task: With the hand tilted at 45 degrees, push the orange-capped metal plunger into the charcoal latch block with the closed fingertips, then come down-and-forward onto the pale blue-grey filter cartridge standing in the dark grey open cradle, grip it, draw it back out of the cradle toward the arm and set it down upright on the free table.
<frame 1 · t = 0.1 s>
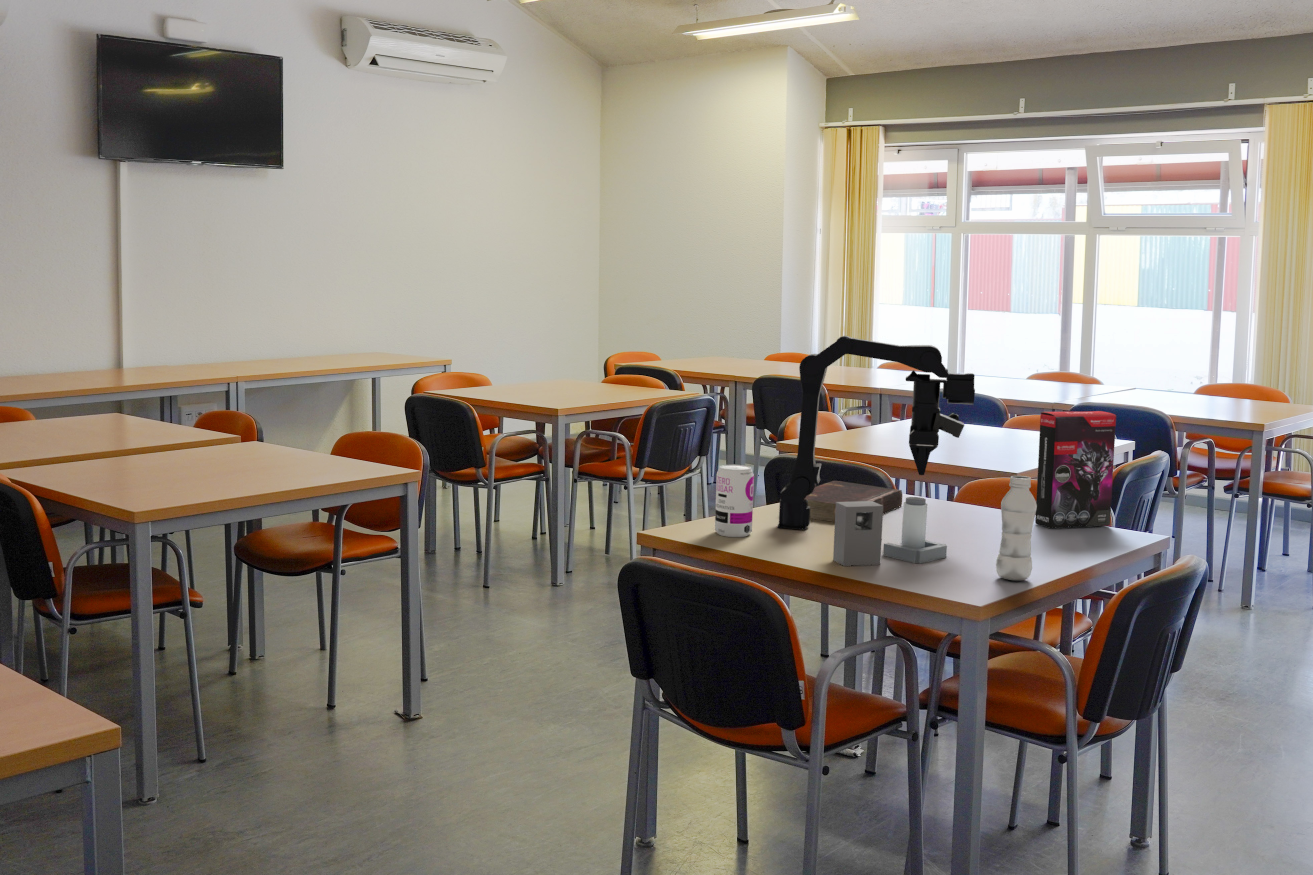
hand: (921, 471, 254), 15 cm above the table, tool pointing down, fingers open, 9 cm apart
plastic bottle: (1013, 580, 219), on the table
plunger: (851, 515, 231), point 9 cm above the table, slide at 0.0 cm
latch block: (856, 562, 229), on the table
hardback book: (844, 512, 283), on the table
cartridge: (914, 527, 236), in the cradle
cradle: (912, 555, 237), on the table
supplement can: (733, 534, 253), on the table
graphics card box: (1070, 526, 271), on the table
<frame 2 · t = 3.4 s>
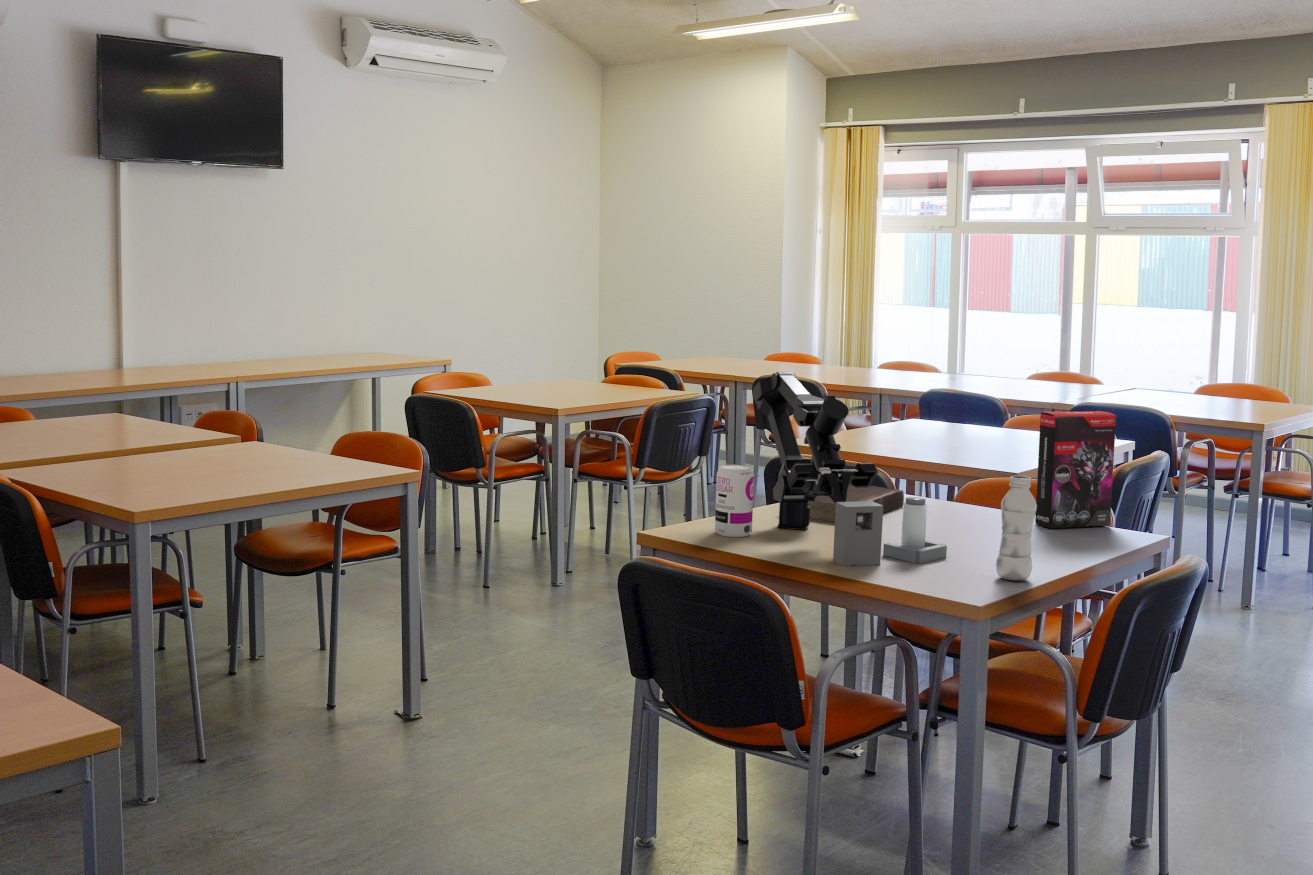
hand: (842, 508, 235), 9 cm above the table, tool tilted 45°, fingers closed, pressing on plunger
plunger: (852, 515, 231), point 9 cm above the table, slide at 0.3 cm, touching gripper
everything else where it was.
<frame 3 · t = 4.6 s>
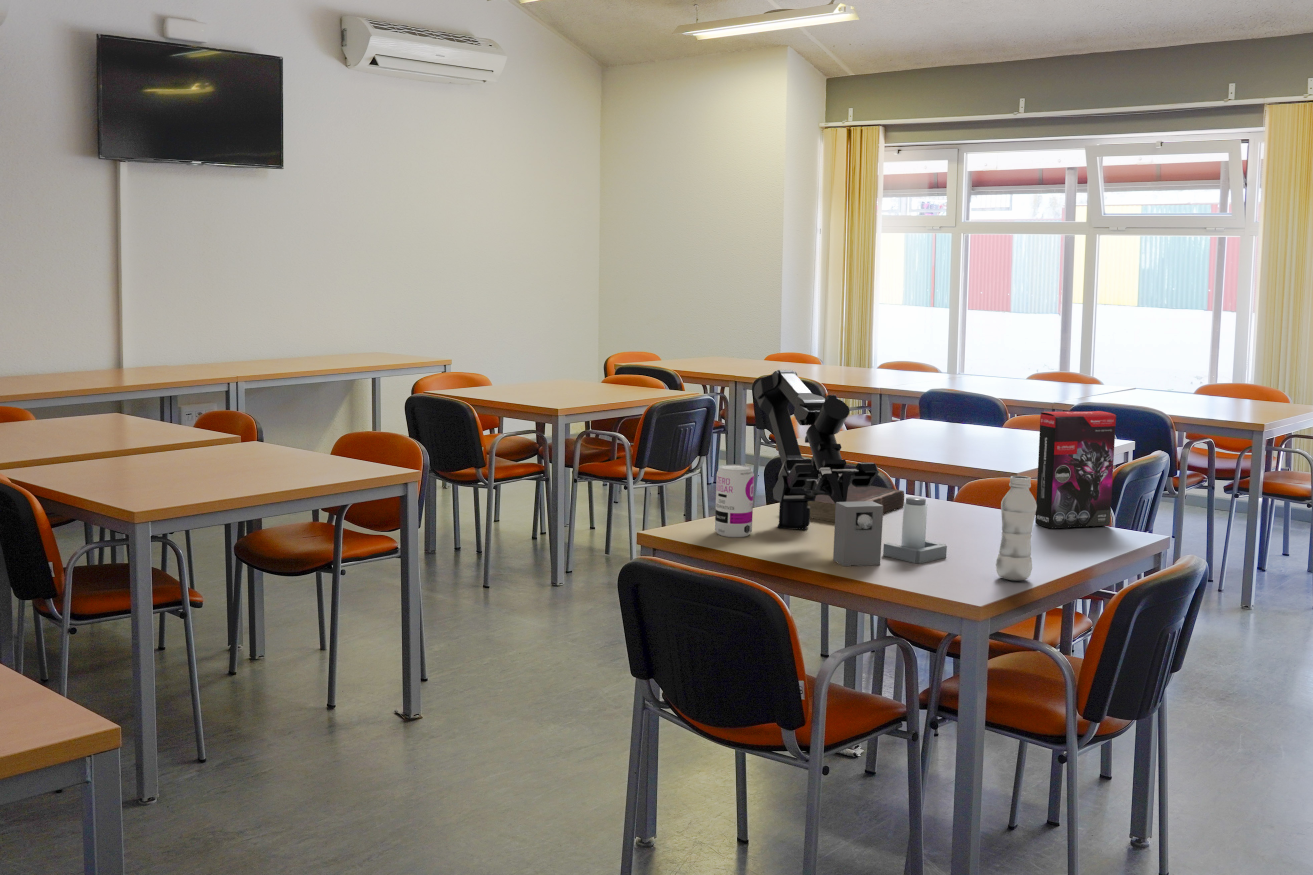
hand: (843, 509, 235), 9 cm above the table, tool tilted 45°, fingers closed
plunger: (857, 517, 229), point 9 cm above the table, slide at 2.5 cm
everything else where it was.
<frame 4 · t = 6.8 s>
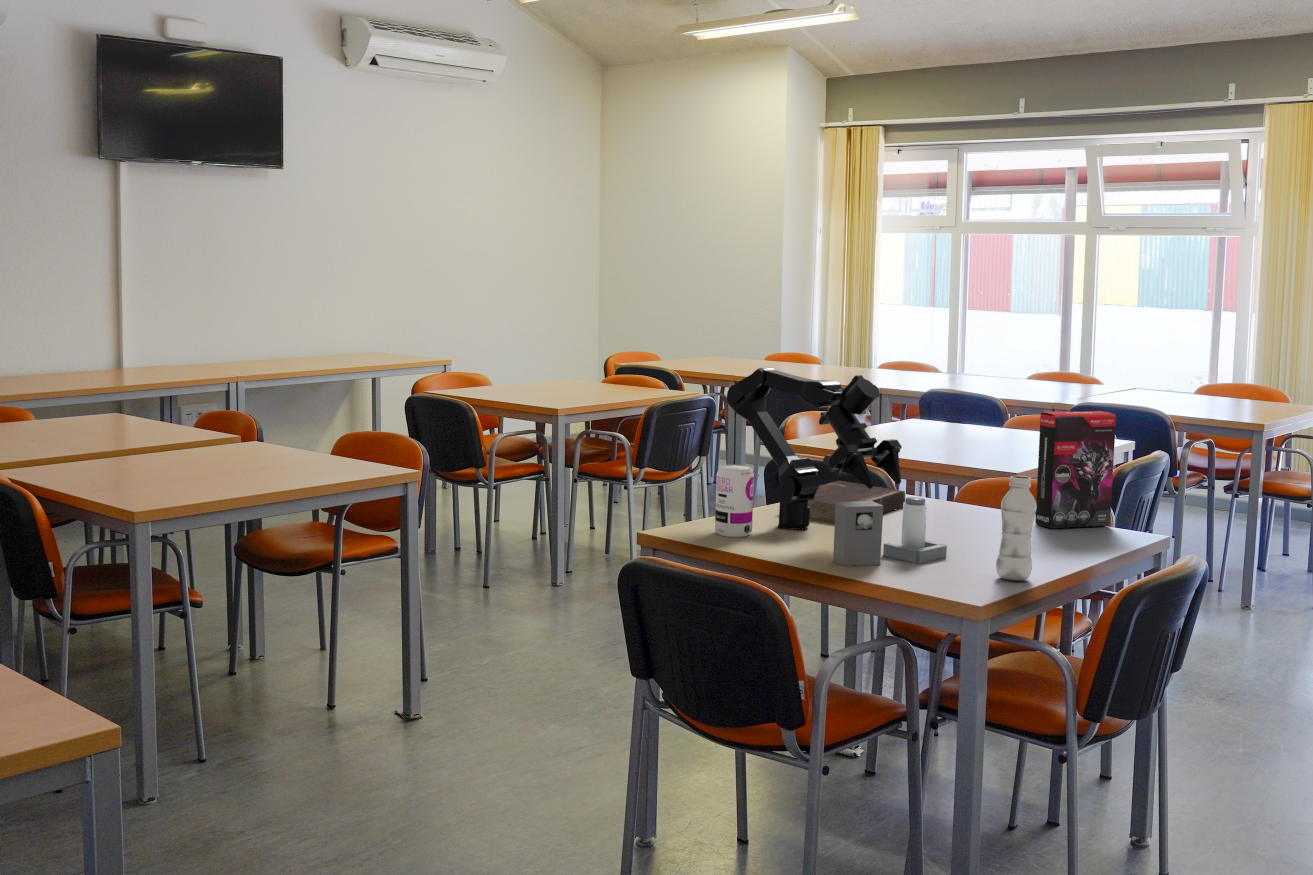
hand: (885, 485, 241), 14 cm above the table, tool tilted 45°, fingers open, 9 cm apart
nothing on the table moved.
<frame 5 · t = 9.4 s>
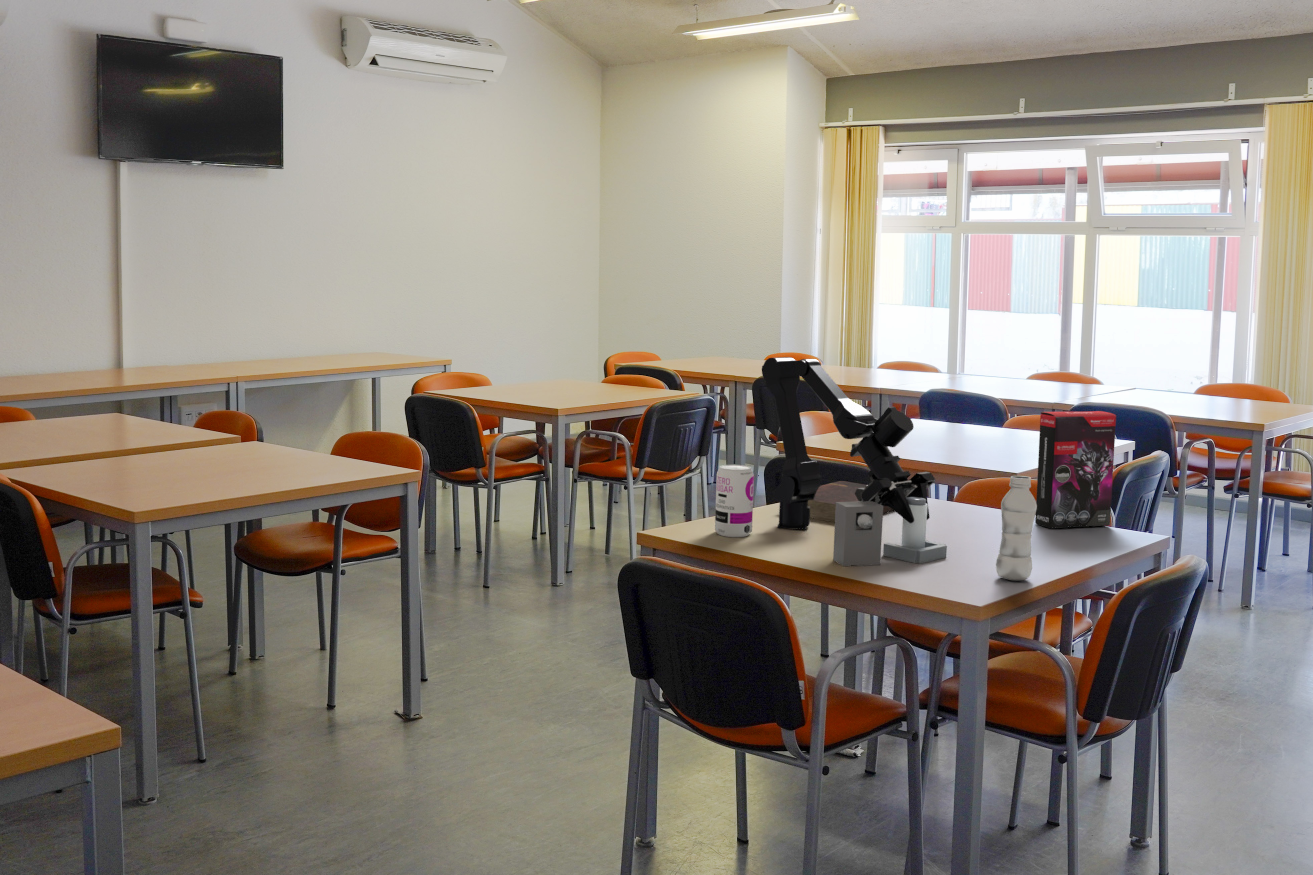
hand: (920, 520, 235), 8 cm above the table, tool tilted 45°, fingers closed on cartridge, 5 cm apart
cartridge: (914, 527, 236), in the cradle, touching gripper
everything else where it was.
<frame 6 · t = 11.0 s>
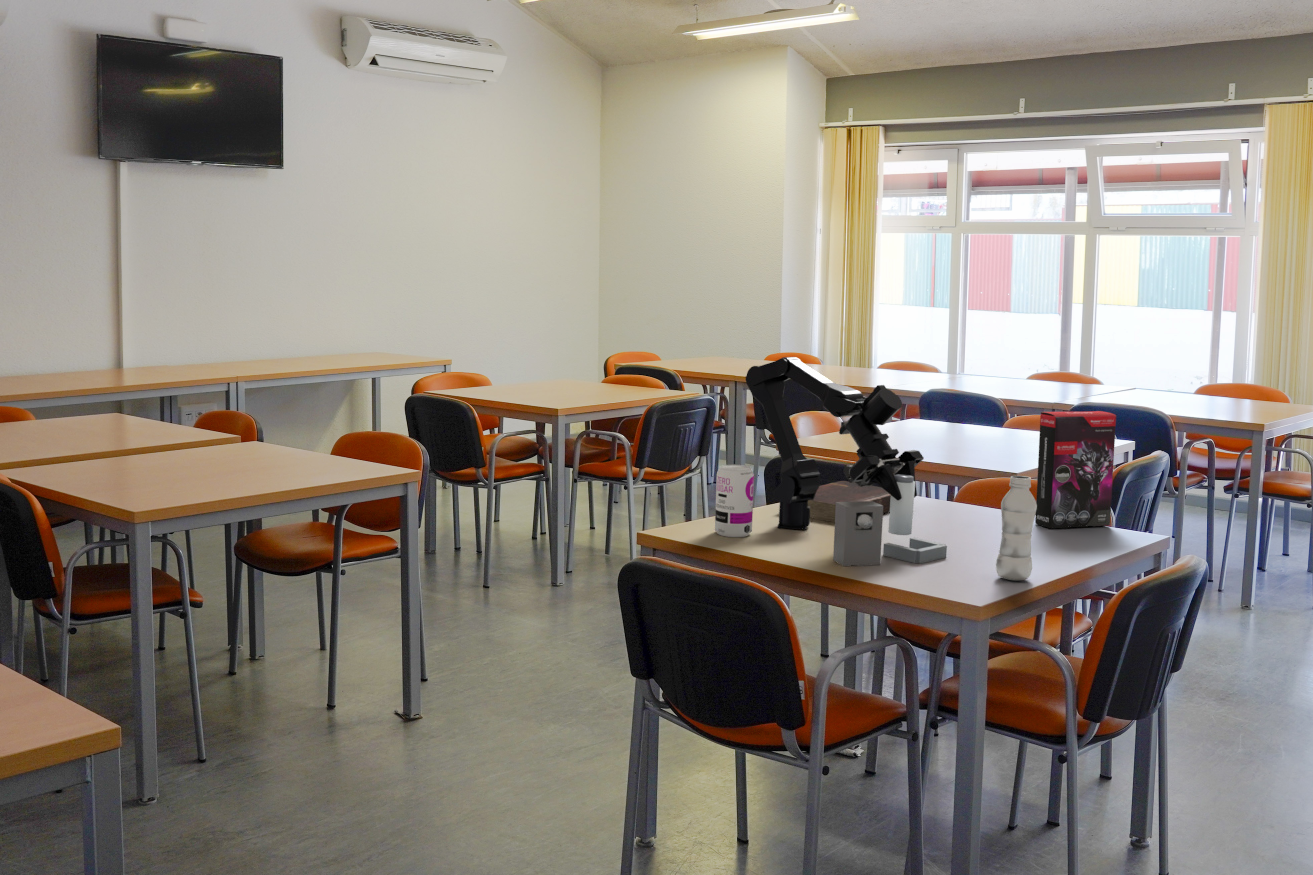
hand: (907, 498, 237), 12 cm above the table, tool tilted 45°, fingers closed on cartridge, 5 cm apart
cartridge: (901, 504, 238), point 10 cm above the table, touching gripper
when the fingers open (9 cm above the table, at t = 13.0 s): cartridge drops 1 cm, on the table.
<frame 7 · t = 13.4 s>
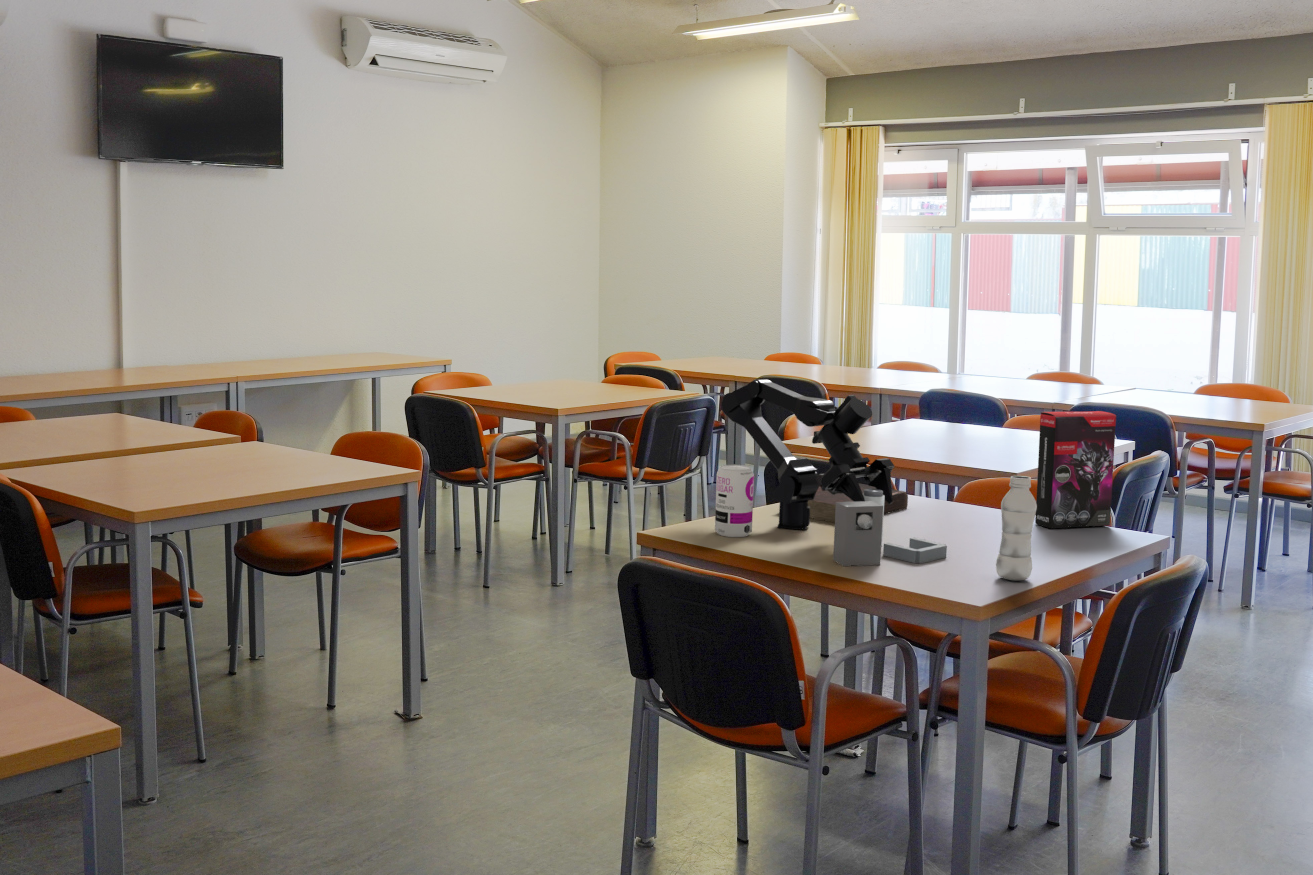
hand: (878, 505, 243), 9 cm above the table, tool tilted 45°, fingers open, 9 cm apart
cartridge: (872, 518, 244), on the table
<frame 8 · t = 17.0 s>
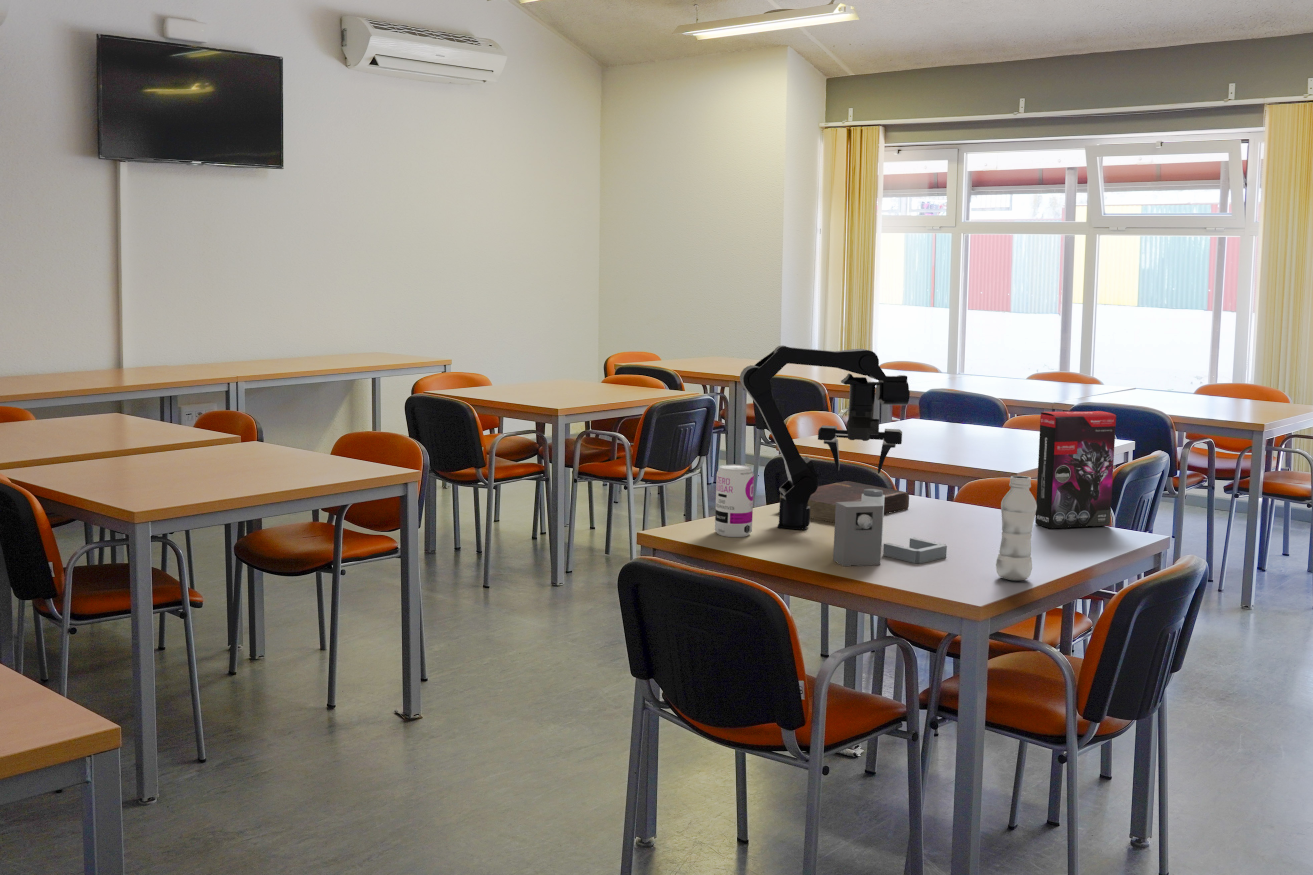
hand: (858, 472, 261), 13 cm above the table, tool pointing down, fingers open, 9 cm apart
at the end: plunger slide at 2.5 cm; cartridge moved 11.0 cm from its start; cartridge tilted 0° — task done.
